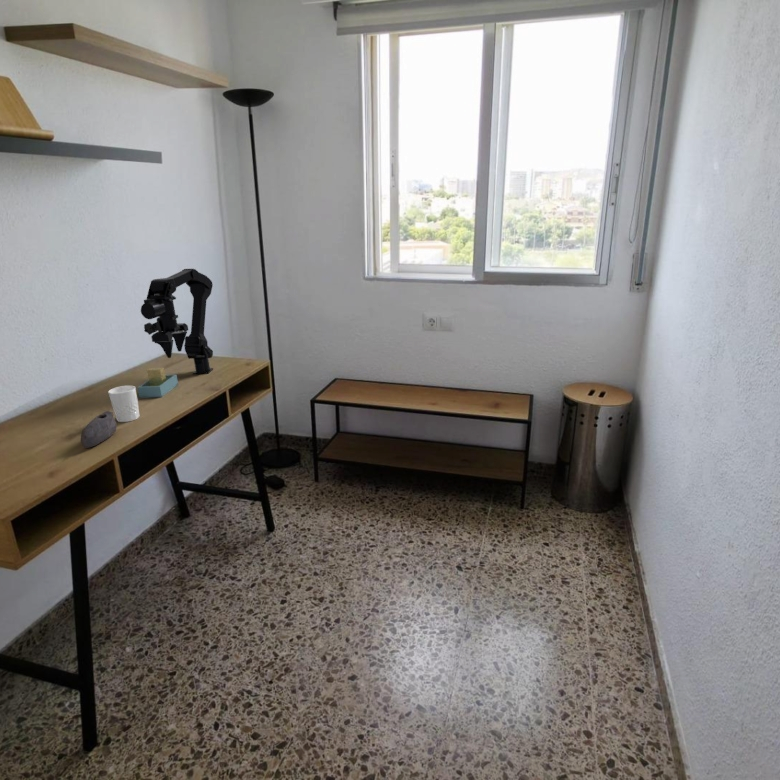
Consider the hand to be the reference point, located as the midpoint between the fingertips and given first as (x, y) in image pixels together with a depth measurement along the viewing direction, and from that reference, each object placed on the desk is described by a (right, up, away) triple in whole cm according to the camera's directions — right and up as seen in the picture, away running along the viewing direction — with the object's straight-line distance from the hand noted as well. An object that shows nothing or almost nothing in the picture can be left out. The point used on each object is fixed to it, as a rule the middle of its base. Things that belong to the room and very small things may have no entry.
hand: (174, 354), depth 199 cm
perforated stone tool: (-4, -29, -44) cm, 53 cm away
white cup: (-4, -23, -28) cm, 36 cm away
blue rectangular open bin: (-5, -14, -2) cm, 15 cm away
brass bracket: (-5, -13, -3) cm, 14 cm away
